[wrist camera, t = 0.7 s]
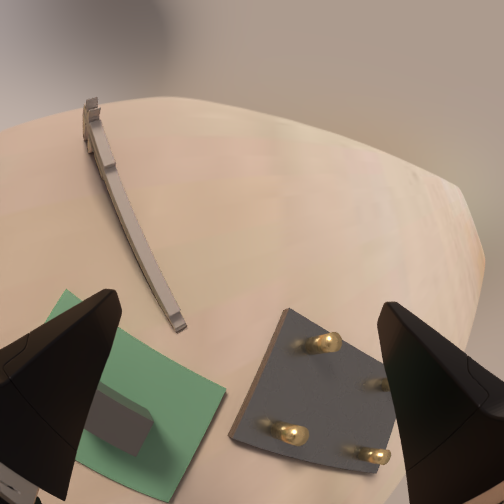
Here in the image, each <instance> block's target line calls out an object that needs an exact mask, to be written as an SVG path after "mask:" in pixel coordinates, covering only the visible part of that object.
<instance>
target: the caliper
mask: <svg viewBox="0 0 504 504" xmlns="http://www.w3.org/2000/svg"><path fill="white" fill-rule="evenodd" d="M100 110H101V107H99V108H98V99H97V97H95V98H92V99H88V100H86V103H84V108H83V138H84V141H85V140H88V144H87V146H88V148H87V150H88V153H91V152H94V156H95V160H96V164H97V167H98V169H99V172H100V176H101V179H102V180H103V179H104V181H105V184H106V187H107V189H108V192H109V195H110V197H111V200H112V202H113V205H114V207H115V210H116V212H117V215H118V217H119V220H120V222H121V225H122V227H123V229H124V232H125V234H126V236H127V238H128V241H129V243H130V245H131V248H132V250H133V252H134V254H135V256H136V259H137V261H138V263H139V265H140V267H141V269H142V271H143V273H144V275H145V278H146V280H147V282H148V284H149V286H150V288H151V290H152V292H153V294H154V296H155V298H156V299H157V301H158V303H159V305H160V306H161V308H162V310H163V312H164V313H165V315H166V317H168V319H169V321H170V323H171V325H172V327H173V328H174V330H175V332H177V331H179V330H180V329H182V328H184V327H186V326H187V325H186V322H185V320H184V318H183V317H182V315H181V313H180V310H181V309H180V307H179V306H178V304H177V302H176V300H175V298H174V296H173V294H172V292H171V290H170V288H169V286H168V284H167V282H166V280H165V278H164V276H163V274H162V272H161V270H160V268H159V266H158V264H157V262H156V260H155V258H154V255H153V253H152V251H151V249H150V247H149V245H148V243H147V240H146V238H145V236H144V234H143V232H142V229H141V227H140V225H139V223H138V220H137V218H136V216H135V213H134V211H133V209H132V206H131V204H130V201H129V199H128V197H127V194H126V192H125V189H124V187H123V184H122V182H121V179H120V176H119V174H118V171H117V169H116V166H115V165H116V162H115V159H114V157H113V154H112V151H111V148H110V145H109V142H108V139H107V137H106V134H105V131H104V128H103V125H102V122H101V120H99V114H100Z"/></svg>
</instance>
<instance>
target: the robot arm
mask: <svg viewBox="0 0 504 504" xmlns="http://www.w3.org/2000/svg"><path fill="white" fill-rule="evenodd" d="M121 315H122V308H121V305H120V301H119V298H118V295H117V292H116V291H115V290H113V289H103V290H101V291H100V292H98V293H96V294H94V295H93V296H91V297H89V298H87V299H86V300H84V301H82V302H80V303H79V304H77V305H75V306H73V307H72V308H70V309H68V310H66V311H65V312H63V313H61V314H60V315H58V316H56V317H55V318H53V319H51V320H49V321H48V322H46V323H44V324H43V325H41V326H39V327H38V328H36V329H34V330H33V331H31V332H30V334H29V333H28V334H26V335H25V336H23V337H21V338H20V339H18V340H16V341H15V342H13V343H11V344H9V345H8V346H6V347H4V348H2V349H0V504H42V503H41V501H40V498H39V497H37V494H38V491H39V488H41V489H42V490H44V491H46V492H48V493H50V494H51V495H53V496H55V497H57V498H59V499H61V500H63V501H65V500H66V496H67V491H68V487H69V482H70V478H71V474H72V470H73V466H74V462H75V458H76V454H77V450H78V447H79V443H80V440H81V436H82V433H83V430H84V426H85V423H86V420H87V417H88V414H89V410H90V407H91V404H92V401H93V399H94V396H95V393H96V390H97V387H98V384H99V382H100V379H101V376H102V373H103V371H104V368H105V365H106V363H107V360H108V358H109V355H110V352H111V349H112V346H113V342H114V339H115V335H116V332H117V328H118V325H119V322H120V318H121ZM377 328H378V334H379V339H380V345H381V352H382V358H383V364H384V368H385V372H386V376H387V380H388V384H389V388H390V392H391V397H392V401H393V405H394V410H395V414H396V419H397V424H398V429H399V434H400V439H401V445H402V450H403V456H404V463H405V469H406V477H407V485H408V493H409V501H410V504H504V382H503V381H502V380H500V379H499V378H498V377H496V376H495V375H493V374H492V373H490V372H489V371H488V370H486V369H485V368H484V367H482V366H481V365H479V364H478V363H477V362H476V361H474V360H473V359H472V358H471V357H469V356H467V354H466V353H464V352H463V351H462V350H460V349H459V348H458V347H457V346H455V345H454V344H453V343H451V342H450V341H449V340H447V339H446V338H445V337H443V336H442V335H441V334H439V333H438V332H437V331H436V330H434V329H433V328H432V327H430V326H429V325H427V324H426V323H425V322H423V321H422V320H421V319H419V318H418V317H417V316H415V315H414V314H413V313H411V312H410V311H408V310H407V309H406V308H404V307H403V306H402V305H400V304H399V303H397V302H385V303H384V305H383V307H382V310H381V313H380V316H379V318H378V322H377Z"/></svg>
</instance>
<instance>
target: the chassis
mask: <svg viewBox="0 0 504 504" xmlns="http://www.w3.org/2000/svg"><path fill="white" fill-rule="evenodd" d="M395 419H396V414H395V410H394V405H393V401H392V397H391V392H390V388H389V384H388V380H387V376H386V372H385V368H384V364H382V363H381V362H379V361H377V360H376V359H374V358H372V357H370V356H369V355H367V354H365V353H364V352H362V351H360V350H358V349H357V348H355V347H353V346H352V345H350V344H348V343H347V342H345V341H343V340H342V338H341V336H340V335H339V334H338V333H336V332H332V333H330V332H328V331H327V330H325V329H323V328H322V327H320V326H318V325H317V324H315V323H313V322H312V321H310V320H308V319H307V318H305V317H304V316H302V315H300V314H299V313H297V312H295V311H294V310H292V309H290V308H288V309H285V310H283V313H282V315H281V318H280V320H279V323H278V325H277V327H276V330H275V332H274V334H273V337H272V339H271V342H270V344H269V346H268V349H267V351H266V353H265V356H264V358H263V360H262V362H261V365H260V367H259V369H258V371H257V374H256V376H255V378H254V380H253V383H252V385H251V387H250V389H249V391H248V394H247V396H246V398H245V400H244V402H243V404H242V407H241V409H240V411H239V413H238V415H237V417H236V419H235V421H234V423H233V426H232V428H231V430H230V432H229V434H228V436H229V437H231V438H233V439H235V440H238V441H241V442H244V443H246V444H249V445H252V446H255V447H258V448H261V449H265V450H268V451H271V452H274V453H278V454H281V455H285V456H288V457H292V458H296V459H300V460H304V461H308V462H312V463H317V464H322V465H326V466H331V467H337V468H342V469H348V470H355V471H361V472H369V473H377V471H378V468H379V466H380V464H381V465H385V464H387V463H388V461H389V460H390V457H391V452H390V451H389V450H386V447H387V444H388V441H389V438H390V435H391V432H392V429H393V425H394V422H395Z"/></svg>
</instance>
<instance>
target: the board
mask: <svg viewBox="0 0 504 504" xmlns="http://www.w3.org/2000/svg"><path fill="white" fill-rule="evenodd" d="M80 302H82V301H81V300H80V299H79V298H77V297H76V296H75V295H74V294H72V293H71V292H70V291H68V290H67V289H66V290H65V291H64V293H63V294H62V296H61V297H60V299H59V301H58V302H57V304H56V305H55V307H54V308H53V310H52V312H51V313H50V315H49V317H48V318H47V320H46V322H48V321H49V320H51V319H53V318H55V317H56V316H58V315H60V314H61V313H63V312H65V311H66V310H68V309H70V308H72V307H73V306H75V305H77V304H79V303H80ZM46 322H45V323H46ZM225 391H226V388H224V387H222V386H220V385H218V384H216V383H214V382H212V381H210V380H208V379H206V378H204V377H202V376H200V375H198V374H196V373H194V372H193V371H191V370H189V369H187V368H185V367H183V366H181V365H180V364H178V363H176V362H174V361H173V360H171V359H169V358H167V357H166V356H164V355H162V354H160V353H159V352H157V351H155V350H154V349H152V348H150V347H149V346H147V345H146V344H144V343H142V342H141V341H139V340H138V339H136V338H134V337H133V336H131V335H130V334H128V333H127V332H125V331H124V330H122V329H121V328H119V327H118V328H117V332H116V335H115V339H114V342H113V346H112V349H111V352H110V355H109V358H108V360H107V363H106V365H105V368H104V371H103V373H102V376H101V379H100V382H99V384H98V387H97V390H96V393H95V396H94V399H93V401H92V404H91V407H90V410H89V414H88V417H87V420H86V423H85V426H84V430H83V433H82V436H81V440H80V443H79V447H78V450H77V454H76V458H75V460H77V461H78V462H80V463H82V464H84V465H85V466H87V467H89V468H91V469H92V470H94V471H96V472H98V473H100V474H102V475H104V476H106V477H108V478H110V479H112V480H114V481H116V482H118V483H120V484H122V485H125V486H127V487H129V488H131V489H134V490H136V491H138V492H141V493H143V494H146V495H148V496H151V497H154V498H156V499H159V500H162V501H165V502H167V503H168V502H169V500H170V499H171V497H172V495H173V493H174V491H175V489H176V488H177V486H178V484H179V482H180V480H181V478H182V476H183V474H184V472H185V471H186V469H187V467H188V465H189V463H190V461H191V459H192V457H193V455H194V453H195V451H196V449H197V447H198V445H199V443H200V441H201V439H202V438H203V436H204V434H205V432H206V430H207V428H208V426H209V424H210V422H211V420H212V417H213V415H214V413H215V411H216V409H217V407H218V405H219V403H220V401H221V399H222V397H223V395H224V393H225Z"/></svg>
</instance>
